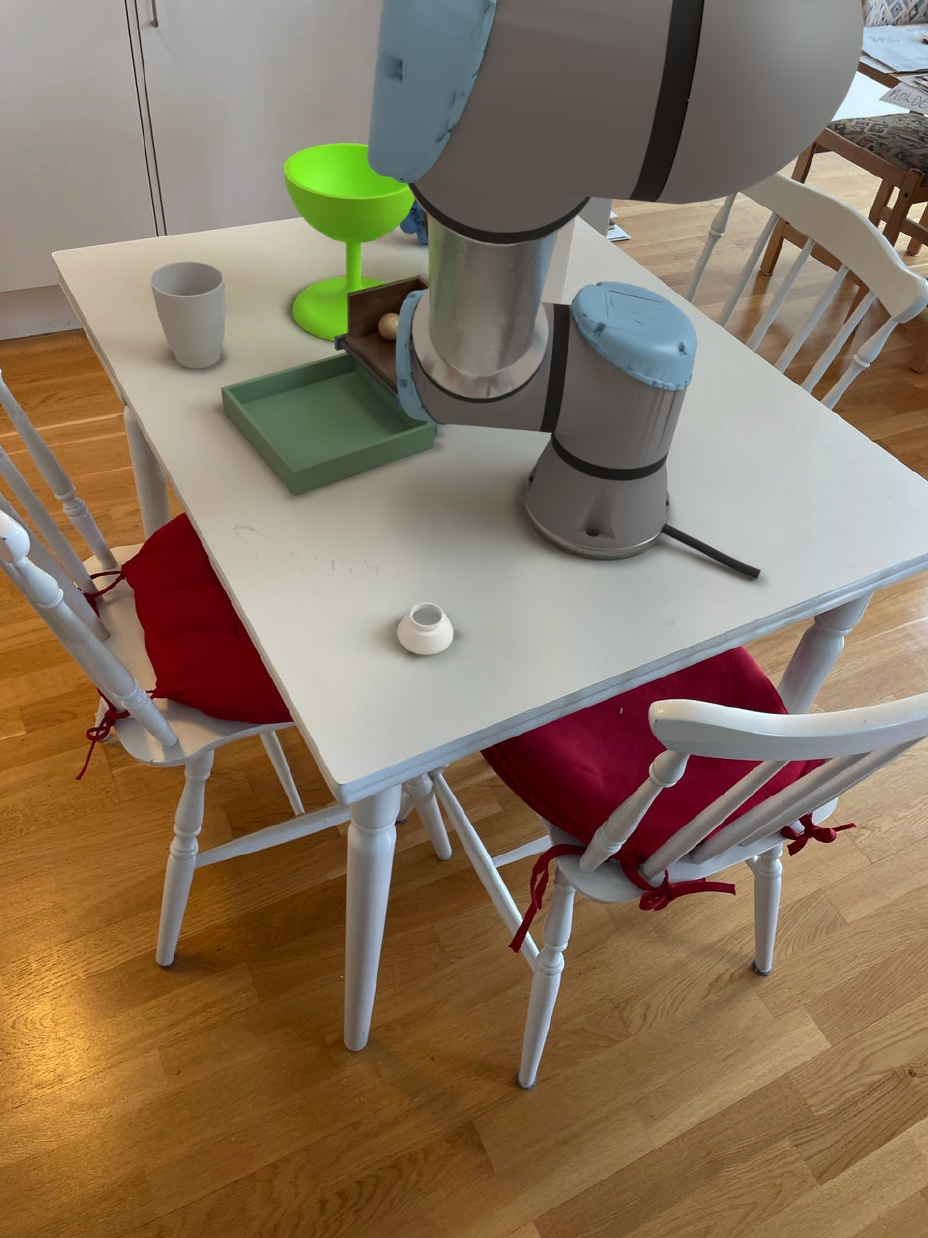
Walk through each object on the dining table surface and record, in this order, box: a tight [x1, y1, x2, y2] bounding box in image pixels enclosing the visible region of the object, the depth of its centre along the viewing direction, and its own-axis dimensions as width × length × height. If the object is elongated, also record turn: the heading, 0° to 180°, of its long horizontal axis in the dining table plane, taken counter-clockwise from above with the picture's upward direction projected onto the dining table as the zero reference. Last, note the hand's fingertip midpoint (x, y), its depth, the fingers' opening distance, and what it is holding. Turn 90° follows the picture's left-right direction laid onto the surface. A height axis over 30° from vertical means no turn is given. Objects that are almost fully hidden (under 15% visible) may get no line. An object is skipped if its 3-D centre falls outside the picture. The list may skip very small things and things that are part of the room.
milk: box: [540, 216, 577, 304], centre depth 119 cm, size 6×6×22 cm
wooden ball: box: [378, 313, 399, 341], centre depth 108 cm, size 3×3×3 cm
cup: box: [149, 261, 227, 369], centre depth 111 cm, size 8×8×10 cm
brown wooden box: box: [340, 274, 429, 398], centre depth 105 cm, size 12×10×6 cm
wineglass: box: [283, 142, 415, 342], centre depth 118 cm, size 16×16×18 cm
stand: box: [334, 334, 438, 436], centre depth 109 cm, size 14×10×7 cm
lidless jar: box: [396, 601, 454, 656], centre depth 86 cm, size 5×3×5 cm
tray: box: [220, 351, 436, 496], centre depth 106 cm, size 17×17×3 cm
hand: (490, 237), depth 103 cm, fingers closed
